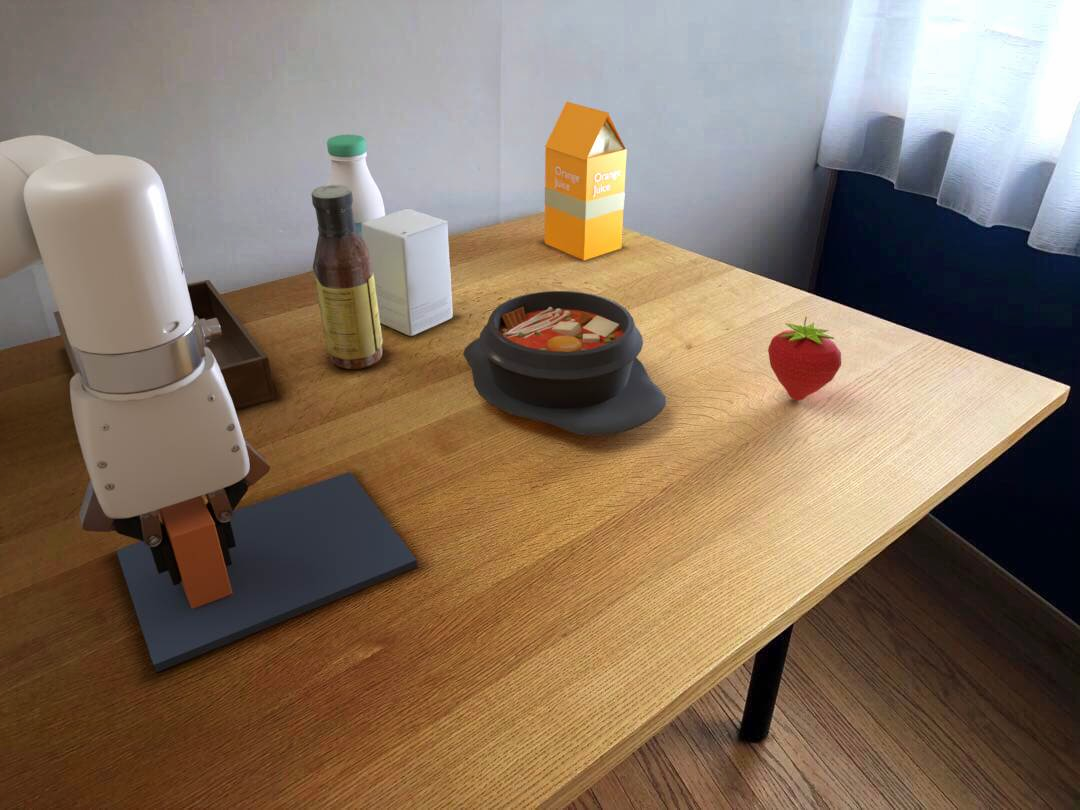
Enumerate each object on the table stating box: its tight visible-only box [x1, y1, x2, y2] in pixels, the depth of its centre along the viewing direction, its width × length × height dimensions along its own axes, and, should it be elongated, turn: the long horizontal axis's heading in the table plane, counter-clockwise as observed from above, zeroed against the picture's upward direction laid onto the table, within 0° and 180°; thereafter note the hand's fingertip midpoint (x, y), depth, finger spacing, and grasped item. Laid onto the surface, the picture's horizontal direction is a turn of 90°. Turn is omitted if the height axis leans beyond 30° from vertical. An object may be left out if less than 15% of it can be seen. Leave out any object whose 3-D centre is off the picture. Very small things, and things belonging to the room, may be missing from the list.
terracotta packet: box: [158, 495, 232, 609], centre depth 65 cm, size 3×6×7 cm, turn 32°
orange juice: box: [544, 101, 628, 261], centre depth 123 cm, size 8×9×20 cm
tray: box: [52, 279, 277, 411], centre depth 94 cm, size 17×23×5 cm
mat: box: [115, 471, 418, 673], centre depth 69 cm, size 20×14×1 cm
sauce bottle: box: [311, 185, 384, 370], centre depth 93 cm, size 6×6×20 cm
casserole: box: [462, 290, 667, 437], centre depth 90 cm, size 25×19×8 cm
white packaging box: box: [362, 208, 454, 337], centre depth 104 cm, size 7×7×13 cm
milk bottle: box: [326, 134, 386, 240], centre depth 109 cm, size 8×8×20 cm
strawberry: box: [767, 315, 842, 401], centre depth 88 cm, size 6×8×10 cm
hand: (198, 562), depth 66 cm, fingers closed on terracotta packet, 3 cm apart
